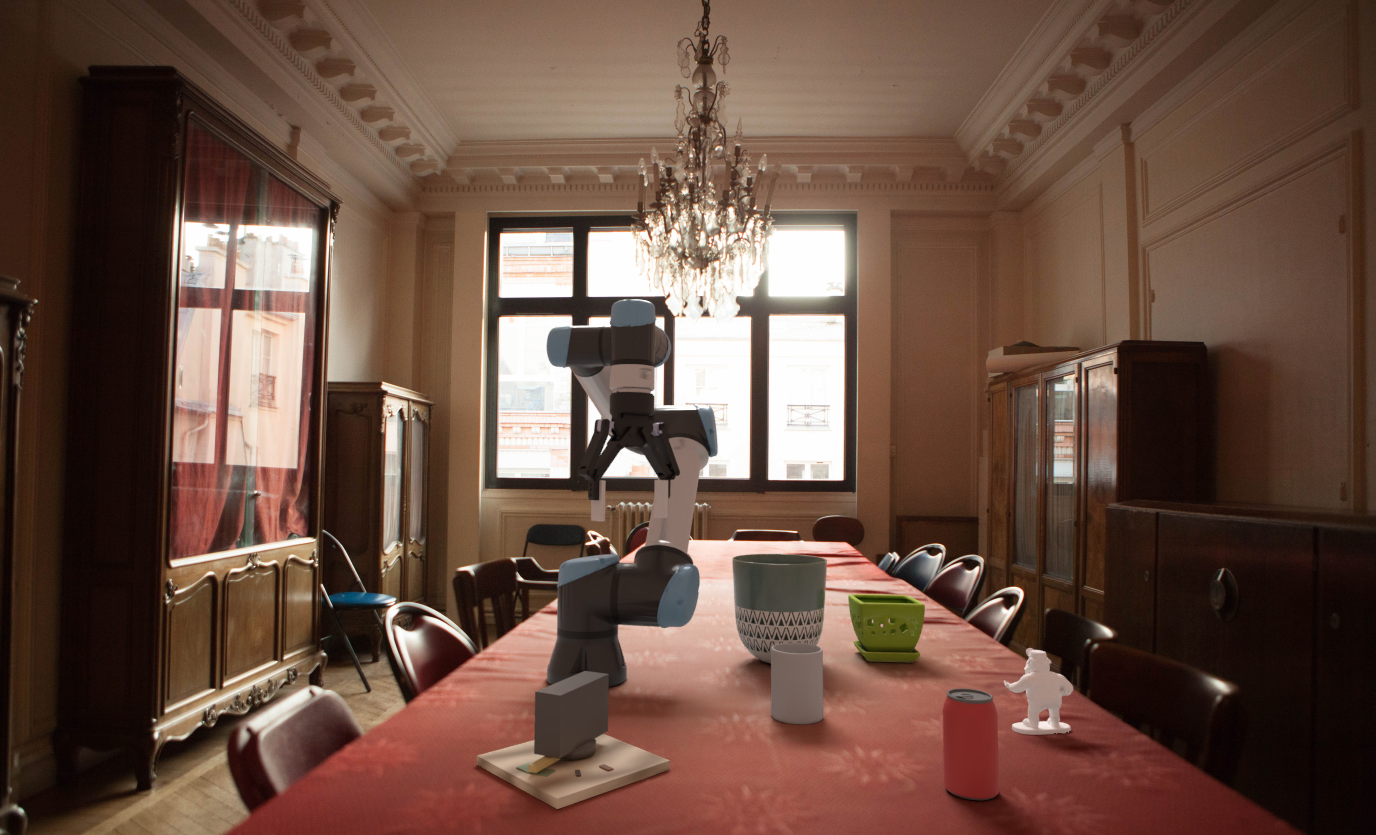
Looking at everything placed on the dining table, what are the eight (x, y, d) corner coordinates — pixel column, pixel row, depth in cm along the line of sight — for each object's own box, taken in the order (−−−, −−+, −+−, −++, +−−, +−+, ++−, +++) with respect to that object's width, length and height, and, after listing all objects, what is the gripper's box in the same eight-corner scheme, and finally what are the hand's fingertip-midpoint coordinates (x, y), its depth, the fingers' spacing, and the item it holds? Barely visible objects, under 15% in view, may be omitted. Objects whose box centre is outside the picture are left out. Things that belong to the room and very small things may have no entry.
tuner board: (476, 764, 106) (476, 754, 106) (584, 734, 119) (584, 724, 119) (557, 809, 92) (557, 797, 92) (669, 769, 105) (669, 758, 105)
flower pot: (927, 666, 162) (926, 603, 163) (859, 665, 162) (859, 603, 163) (909, 650, 176) (908, 593, 177) (846, 650, 176) (846, 592, 177)
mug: (828, 724, 124) (827, 654, 125) (774, 724, 124) (774, 654, 125) (814, 702, 136) (814, 638, 137) (765, 702, 136) (765, 637, 137)
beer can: (935, 781, 101) (933, 687, 102) (984, 780, 102) (982, 686, 103) (956, 803, 95) (955, 702, 96) (1009, 802, 95) (1007, 701, 96)
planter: (765, 678, 151) (765, 566, 153) (714, 656, 169) (715, 556, 170) (846, 667, 160) (846, 561, 162) (791, 647, 178) (790, 552, 179)
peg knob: (577, 734, 114) (578, 669, 115) (614, 741, 111) (615, 675, 112) (512, 769, 101) (513, 696, 101) (553, 778, 98) (554, 702, 98)
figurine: (1054, 721, 127) (1052, 645, 127) (1079, 734, 120) (1077, 655, 121) (1001, 723, 125) (999, 647, 126) (1024, 737, 119) (1022, 656, 120)
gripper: (585, 384, 120) (583, 523, 119) (700, 396, 138) (699, 517, 136) (557, 388, 126) (554, 521, 124) (671, 398, 143) (670, 515, 142)
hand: (630, 519), depth 130 cm, fingers open, 13 cm apart
